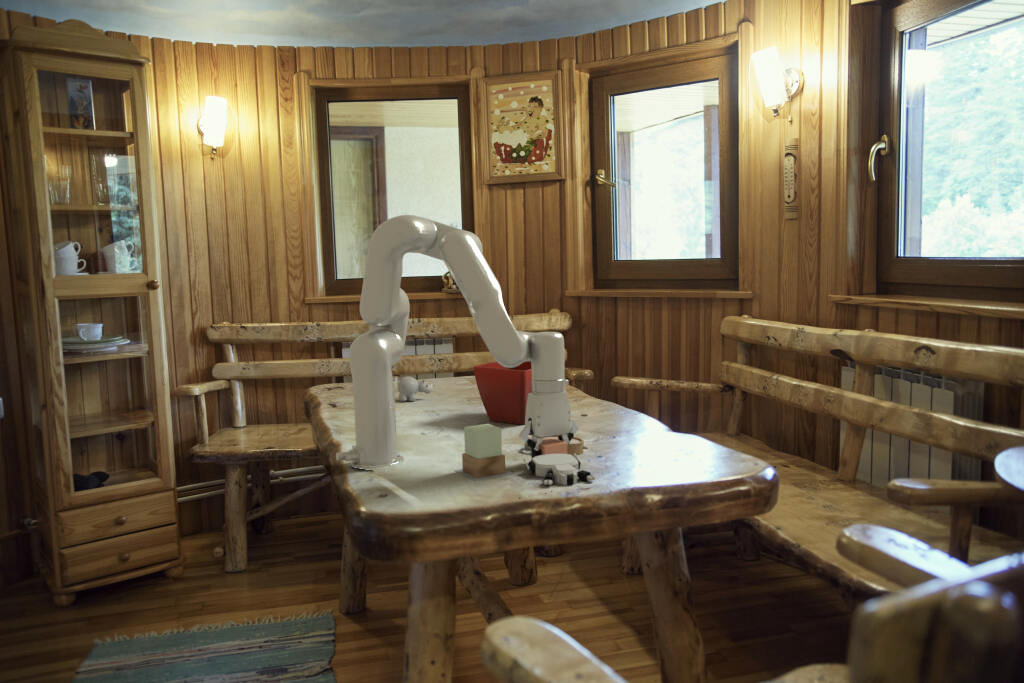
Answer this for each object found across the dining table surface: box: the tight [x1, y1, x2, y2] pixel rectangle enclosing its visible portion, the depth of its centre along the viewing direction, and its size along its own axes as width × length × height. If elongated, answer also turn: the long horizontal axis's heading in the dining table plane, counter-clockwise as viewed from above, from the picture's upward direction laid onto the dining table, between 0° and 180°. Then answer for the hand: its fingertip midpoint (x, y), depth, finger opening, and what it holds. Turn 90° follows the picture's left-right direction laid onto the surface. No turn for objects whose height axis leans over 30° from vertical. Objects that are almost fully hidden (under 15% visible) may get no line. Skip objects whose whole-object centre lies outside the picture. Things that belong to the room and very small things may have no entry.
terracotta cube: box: [531, 438, 567, 456], centre depth 180 cm, size 6×6×6 cm
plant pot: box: [472, 360, 532, 426], centre depth 236 cm, size 19×19×17 cm
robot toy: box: [522, 453, 596, 486], centre depth 170 cm, size 12×4×15 cm
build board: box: [453, 468, 515, 482], centre depth 174 cm, size 10×10×1 cm
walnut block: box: [461, 452, 506, 478], centre depth 174 cm, size 7×7×4 cm
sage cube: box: [463, 423, 503, 459], centre depth 174 cm, size 6×6×6 cm
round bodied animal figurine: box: [396, 376, 433, 402], centre depth 273 cm, size 7×12×8 cm, turn 101°
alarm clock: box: [524, 436, 589, 457], centre depth 194 cm, size 11×5×15 cm
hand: (549, 463), depth 180 cm, fingers closed on terracotta cube, 6 cm apart
